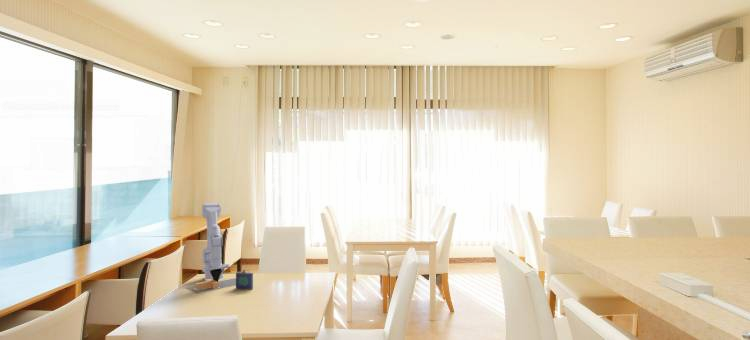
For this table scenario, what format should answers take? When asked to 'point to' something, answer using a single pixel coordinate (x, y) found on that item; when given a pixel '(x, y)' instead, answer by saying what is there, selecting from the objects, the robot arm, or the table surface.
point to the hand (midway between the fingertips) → (215, 282)
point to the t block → (207, 284)
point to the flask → (244, 280)
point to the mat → (221, 285)
